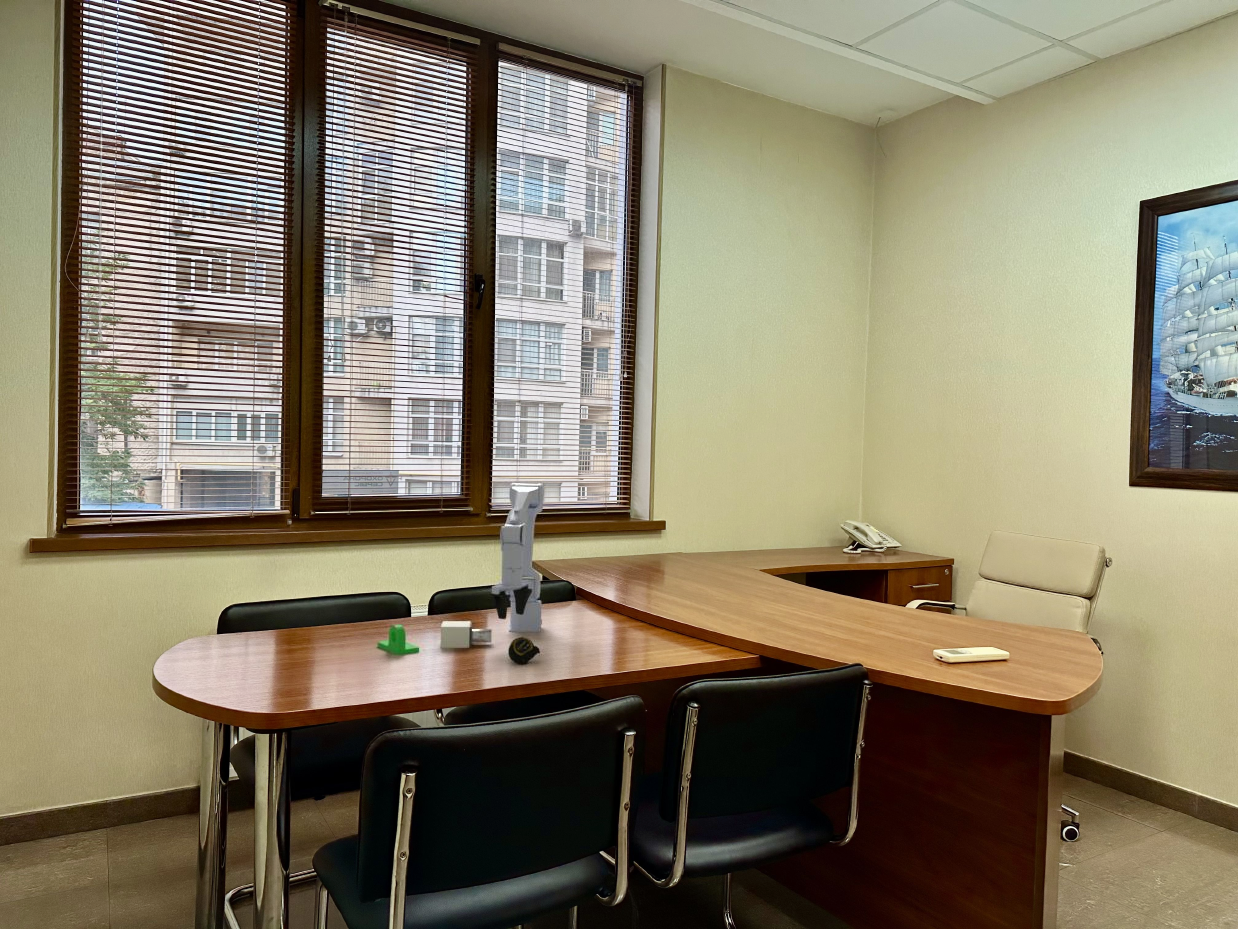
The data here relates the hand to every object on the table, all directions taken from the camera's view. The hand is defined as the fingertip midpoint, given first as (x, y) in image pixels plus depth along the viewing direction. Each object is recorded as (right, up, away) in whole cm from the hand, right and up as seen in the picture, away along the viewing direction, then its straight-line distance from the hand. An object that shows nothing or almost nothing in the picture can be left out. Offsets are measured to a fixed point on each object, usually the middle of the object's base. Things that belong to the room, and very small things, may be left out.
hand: (511, 616), depth 240 cm
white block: (-15, -8, -2) cm, 17 cm away
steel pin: (-10, -7, -1) cm, 12 cm away
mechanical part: (-29, -8, -8) cm, 31 cm away
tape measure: (+6, -9, -19) cm, 22 cm away
